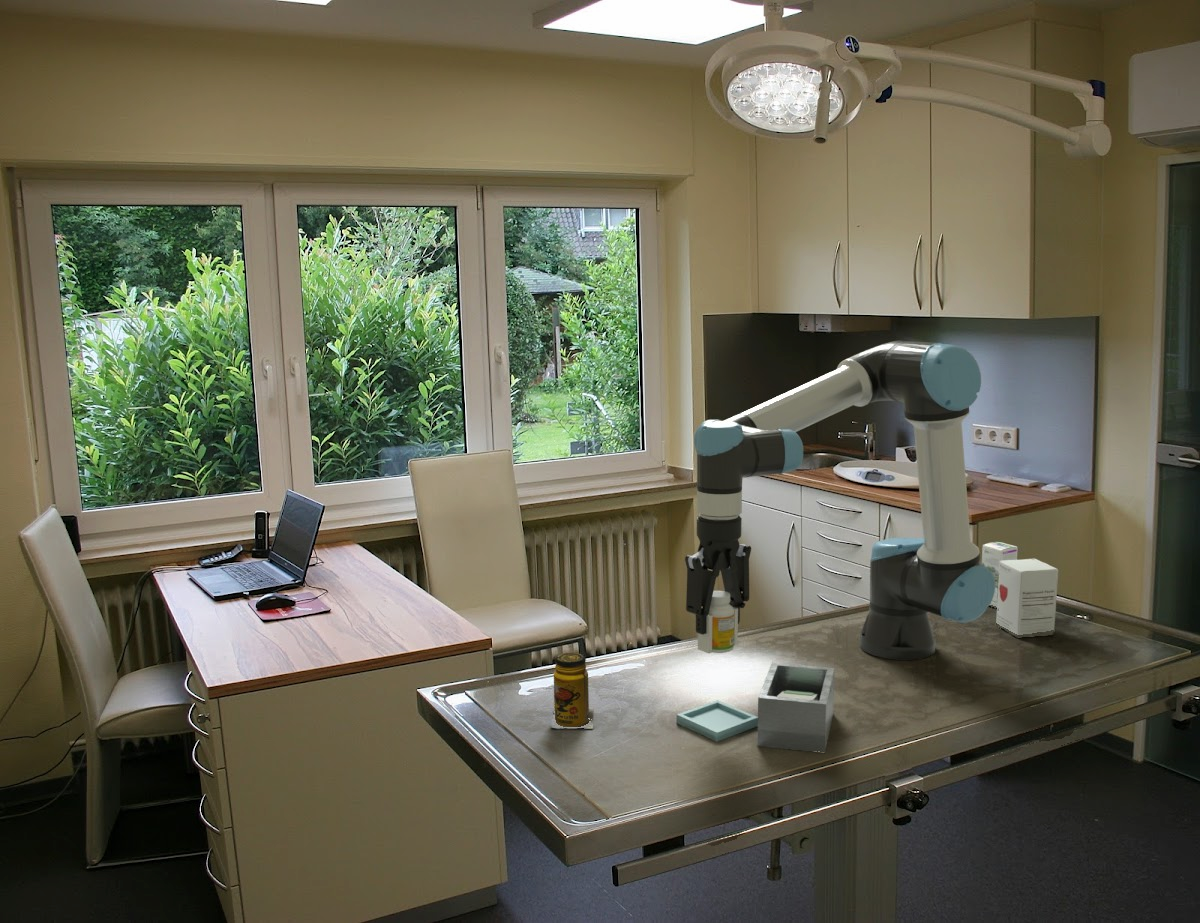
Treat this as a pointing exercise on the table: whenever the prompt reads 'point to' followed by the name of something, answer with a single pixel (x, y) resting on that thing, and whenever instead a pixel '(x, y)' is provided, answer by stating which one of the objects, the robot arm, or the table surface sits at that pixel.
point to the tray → (717, 720)
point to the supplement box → (1026, 596)
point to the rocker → (798, 695)
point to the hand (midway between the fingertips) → (717, 646)
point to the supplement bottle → (722, 622)
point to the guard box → (796, 708)
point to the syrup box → (997, 560)
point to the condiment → (571, 691)
